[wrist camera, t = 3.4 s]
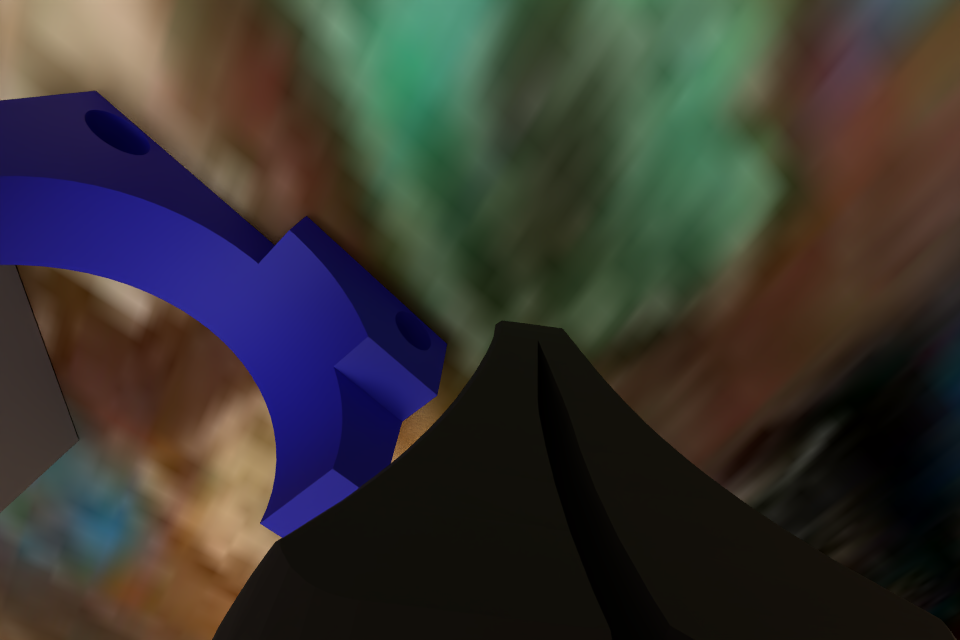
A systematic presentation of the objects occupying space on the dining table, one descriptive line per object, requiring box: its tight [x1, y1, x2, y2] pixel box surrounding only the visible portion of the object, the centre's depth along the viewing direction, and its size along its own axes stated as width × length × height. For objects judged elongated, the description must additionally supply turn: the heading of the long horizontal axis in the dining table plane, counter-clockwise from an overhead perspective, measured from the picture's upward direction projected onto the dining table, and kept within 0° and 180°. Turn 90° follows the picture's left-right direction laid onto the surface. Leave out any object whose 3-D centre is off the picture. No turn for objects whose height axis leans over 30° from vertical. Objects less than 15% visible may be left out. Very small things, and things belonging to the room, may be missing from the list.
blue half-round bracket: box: [0, 91, 447, 538], centre depth 13 cm, size 12×4×6 cm, turn 43°
